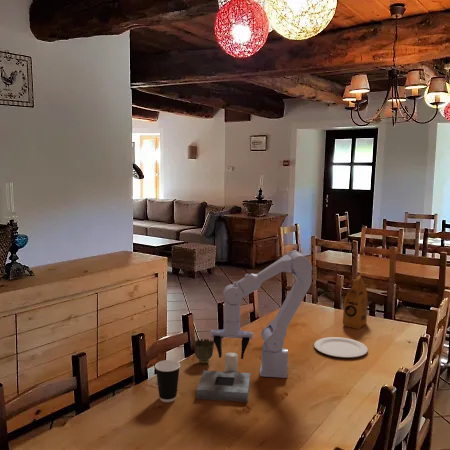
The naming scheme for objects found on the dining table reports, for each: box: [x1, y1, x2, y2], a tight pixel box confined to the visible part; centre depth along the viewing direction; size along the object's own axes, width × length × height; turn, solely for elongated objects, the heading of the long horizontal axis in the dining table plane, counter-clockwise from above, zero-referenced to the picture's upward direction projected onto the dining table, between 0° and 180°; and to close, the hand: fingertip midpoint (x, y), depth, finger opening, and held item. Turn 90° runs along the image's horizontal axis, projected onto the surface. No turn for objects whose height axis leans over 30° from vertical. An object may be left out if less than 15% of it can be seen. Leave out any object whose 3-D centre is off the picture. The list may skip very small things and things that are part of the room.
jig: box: [196, 369, 251, 403], centre depth 157 cm, size 16×14×3 cm
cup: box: [193, 338, 215, 365], centre depth 177 cm, size 8×7×8 cm
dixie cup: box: [154, 359, 181, 403], centre depth 150 cm, size 8×8×11 cm
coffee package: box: [342, 275, 368, 330], centre depth 219 cm, size 10×12×22 cm
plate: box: [313, 336, 369, 359], centre depth 191 cm, size 21×21×2 cm
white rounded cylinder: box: [224, 352, 239, 373], centre depth 168 cm, size 4×4×7 cm
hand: (231, 357), depth 168 cm, fingers open, 7 cm apart
